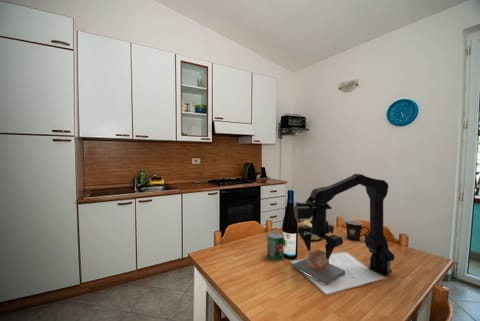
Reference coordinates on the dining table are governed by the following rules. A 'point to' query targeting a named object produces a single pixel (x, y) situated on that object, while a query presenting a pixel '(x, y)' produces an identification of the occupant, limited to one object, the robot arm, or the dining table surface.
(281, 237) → the canned tomato
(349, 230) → the coffee mug
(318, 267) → the terracotta cube
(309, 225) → the pale yellow rounded lump
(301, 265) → the charcoal board
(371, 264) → the robot arm
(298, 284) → the dining table surface
